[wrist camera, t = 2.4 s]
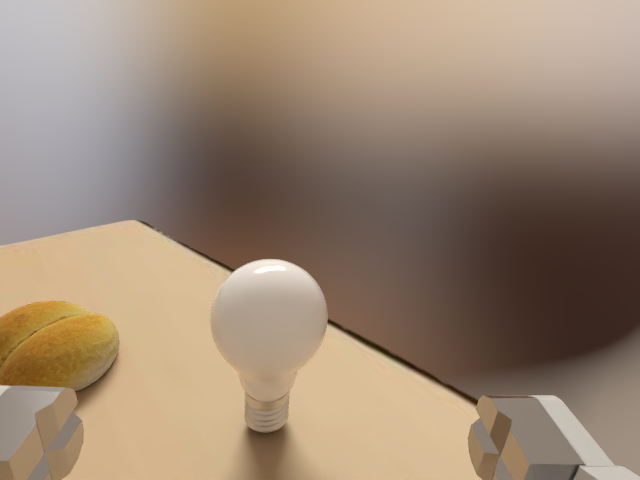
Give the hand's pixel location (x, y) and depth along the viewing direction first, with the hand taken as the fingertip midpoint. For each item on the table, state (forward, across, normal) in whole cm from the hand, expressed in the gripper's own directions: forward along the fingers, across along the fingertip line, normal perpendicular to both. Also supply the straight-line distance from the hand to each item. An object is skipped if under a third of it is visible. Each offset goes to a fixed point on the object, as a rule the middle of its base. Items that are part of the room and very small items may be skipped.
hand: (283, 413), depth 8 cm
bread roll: (+18, -17, -14) cm, 28 cm away
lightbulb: (+12, -1, -14) cm, 19 cm away
